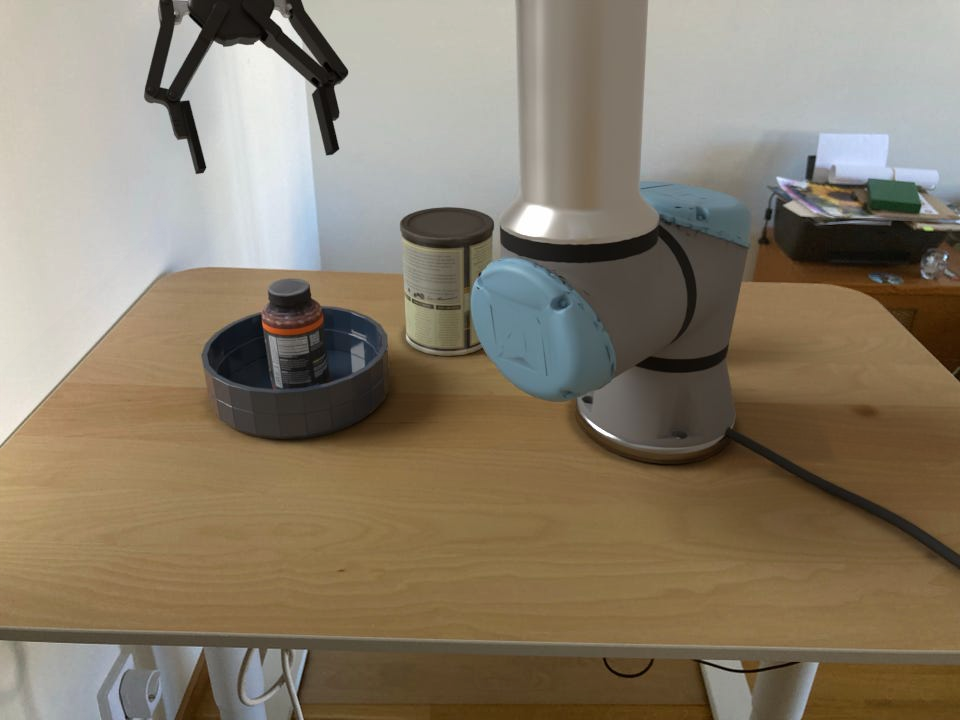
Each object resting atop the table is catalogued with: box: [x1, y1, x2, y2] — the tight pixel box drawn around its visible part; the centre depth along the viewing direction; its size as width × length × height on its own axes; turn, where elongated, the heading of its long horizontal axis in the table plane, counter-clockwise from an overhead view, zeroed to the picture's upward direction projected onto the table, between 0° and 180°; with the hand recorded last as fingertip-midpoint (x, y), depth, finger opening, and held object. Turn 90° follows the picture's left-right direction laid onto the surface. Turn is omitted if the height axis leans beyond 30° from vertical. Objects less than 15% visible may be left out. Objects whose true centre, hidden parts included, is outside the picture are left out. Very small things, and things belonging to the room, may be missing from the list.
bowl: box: [200, 305, 391, 440], centre depth 79 cm, size 18×18×6 cm
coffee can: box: [399, 206, 495, 357], centre depth 88 cm, size 10×10×14 cm
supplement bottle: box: [261, 277, 329, 389], centre depth 78 cm, size 6×6×11 cm
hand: (269, 161), depth 79 cm, fingers open, 13 cm apart
